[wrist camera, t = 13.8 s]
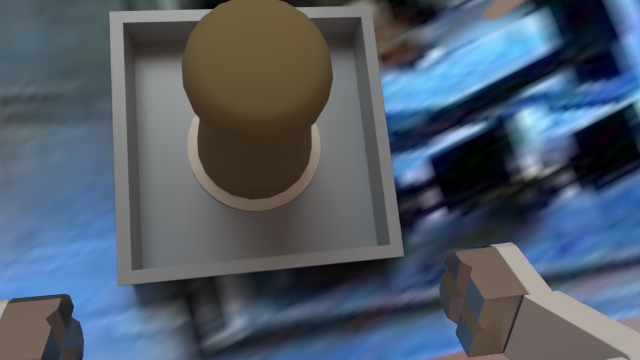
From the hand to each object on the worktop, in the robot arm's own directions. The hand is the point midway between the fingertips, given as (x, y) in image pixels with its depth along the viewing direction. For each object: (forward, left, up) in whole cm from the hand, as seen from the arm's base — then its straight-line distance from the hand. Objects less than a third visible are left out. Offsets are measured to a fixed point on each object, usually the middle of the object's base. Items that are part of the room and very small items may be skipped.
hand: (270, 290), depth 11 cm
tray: (+4, +6, -15) cm, 17 cm away
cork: (+4, +6, -15) cm, 16 cm away
